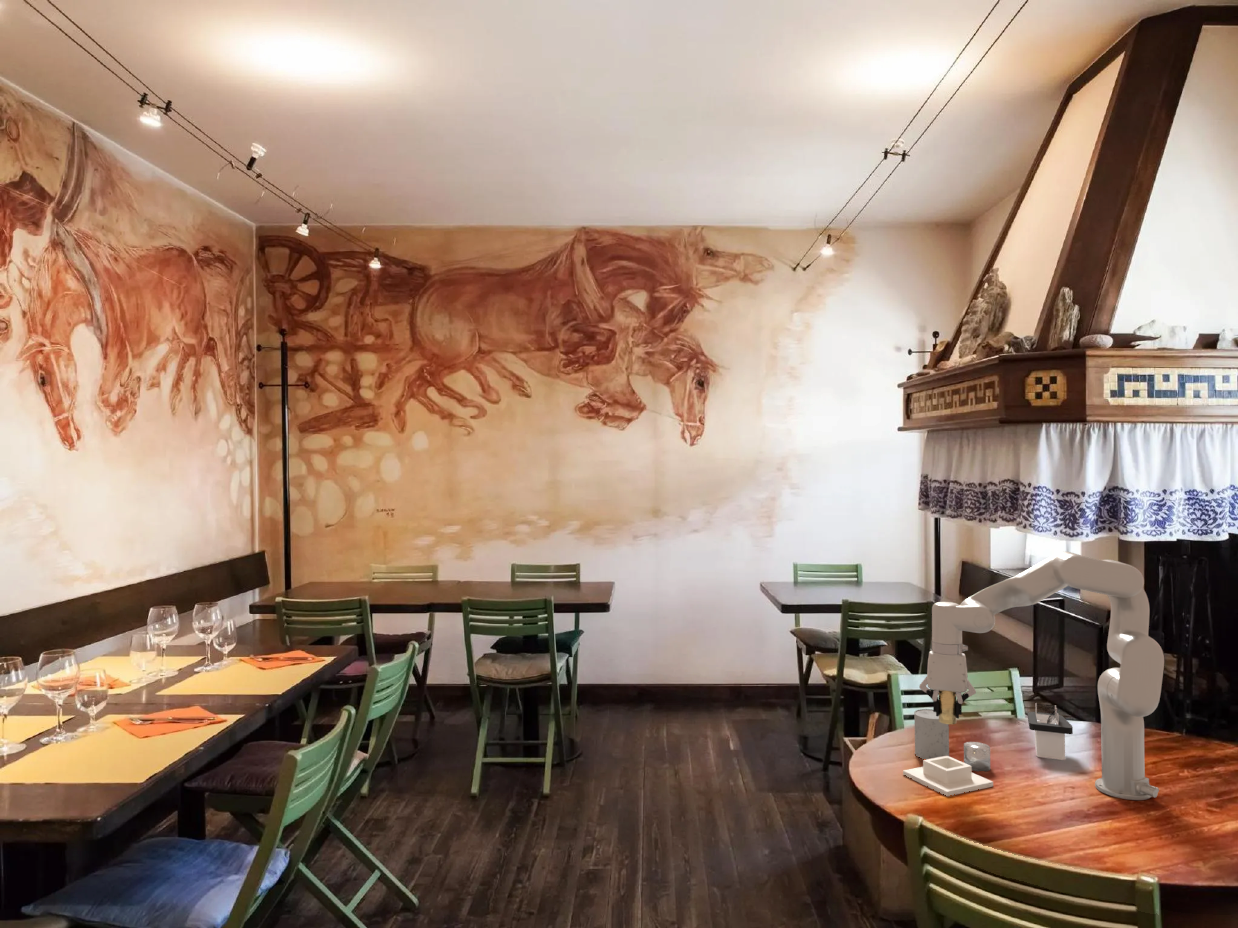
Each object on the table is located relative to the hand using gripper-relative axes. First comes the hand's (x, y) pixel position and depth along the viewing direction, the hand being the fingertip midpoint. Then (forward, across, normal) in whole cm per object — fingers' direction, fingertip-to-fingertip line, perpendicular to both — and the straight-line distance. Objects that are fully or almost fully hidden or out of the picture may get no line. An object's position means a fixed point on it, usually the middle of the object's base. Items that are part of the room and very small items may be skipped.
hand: (947, 715), depth 218 cm
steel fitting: (+18, -8, -13) cm, 24 cm away
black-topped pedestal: (+18, -28, -33) cm, 46 cm away
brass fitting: (+2, 0, 0) cm, 2 cm away
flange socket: (+18, 0, 0) cm, 18 cm away
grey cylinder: (+18, +4, -18) cm, 26 cm away
